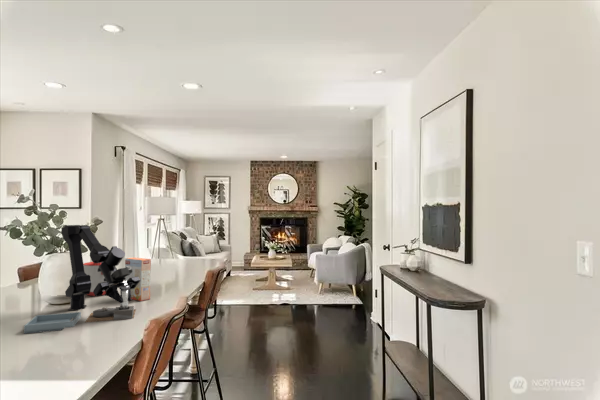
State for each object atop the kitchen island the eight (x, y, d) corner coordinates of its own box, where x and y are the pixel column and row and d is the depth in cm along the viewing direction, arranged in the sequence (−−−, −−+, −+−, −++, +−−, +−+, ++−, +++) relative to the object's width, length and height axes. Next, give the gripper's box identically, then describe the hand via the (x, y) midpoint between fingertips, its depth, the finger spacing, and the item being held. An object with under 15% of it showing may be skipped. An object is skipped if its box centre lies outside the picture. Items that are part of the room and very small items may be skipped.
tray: (36, 322, 153) (36, 315, 153) (80, 319, 158) (81, 312, 158) (24, 333, 140) (24, 325, 140) (73, 329, 145) (73, 321, 145)
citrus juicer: (94, 299, 194) (95, 260, 194) (76, 294, 203) (77, 257, 204) (122, 293, 207) (123, 257, 208) (104, 289, 216) (105, 255, 217)
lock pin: (119, 316, 160) (119, 285, 160) (129, 315, 161) (130, 284, 161) (118, 318, 156) (118, 287, 156) (128, 317, 157) (129, 286, 158)
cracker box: (150, 299, 194) (151, 258, 194) (140, 301, 189) (141, 260, 189) (134, 295, 201) (135, 256, 202) (123, 298, 196) (124, 258, 197)
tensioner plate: (91, 315, 164) (91, 304, 164) (136, 311, 170) (136, 301, 171) (84, 325, 150) (84, 313, 150) (133, 320, 156) (133, 309, 157)
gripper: (98, 263, 153) (114, 293, 147) (138, 258, 169) (154, 285, 163) (86, 280, 157) (101, 311, 151) (126, 274, 173) (141, 301, 167)
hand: (126, 301), depth 158 cm, fingers open, 4 cm apart
